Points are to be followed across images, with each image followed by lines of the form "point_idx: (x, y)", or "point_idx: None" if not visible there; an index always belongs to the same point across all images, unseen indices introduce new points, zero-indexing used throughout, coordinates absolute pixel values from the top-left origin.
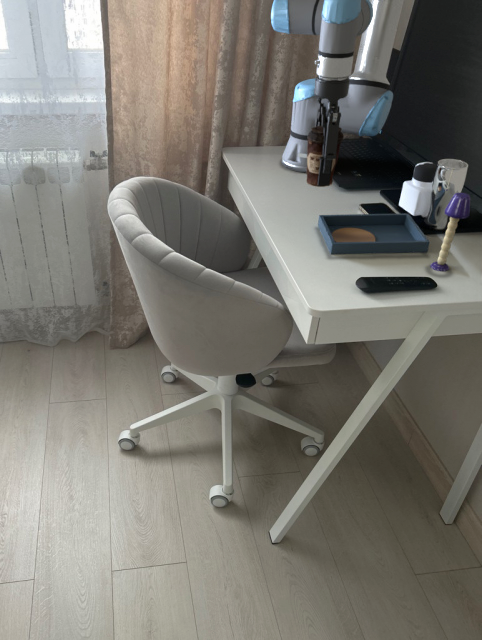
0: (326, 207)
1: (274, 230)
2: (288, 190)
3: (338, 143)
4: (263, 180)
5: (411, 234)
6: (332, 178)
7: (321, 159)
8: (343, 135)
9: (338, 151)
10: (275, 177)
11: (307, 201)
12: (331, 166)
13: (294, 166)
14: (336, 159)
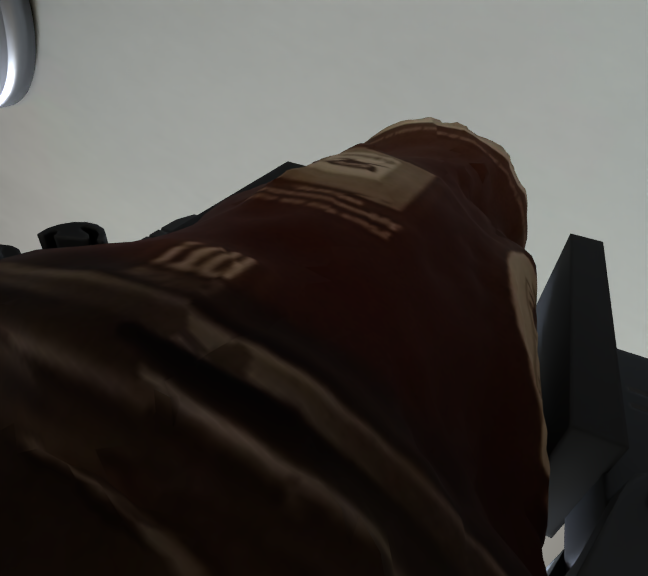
0: (429, 67)
1: None
2: (214, 182)
3: (464, 496)
4: (136, 233)
5: None
6: (485, 162)
7: (550, 526)
8: (171, 399)
9: (426, 281)
10: (105, 179)
11: (332, 146)
12: (616, 364)
13: (15, 80)
14: (459, 237)
